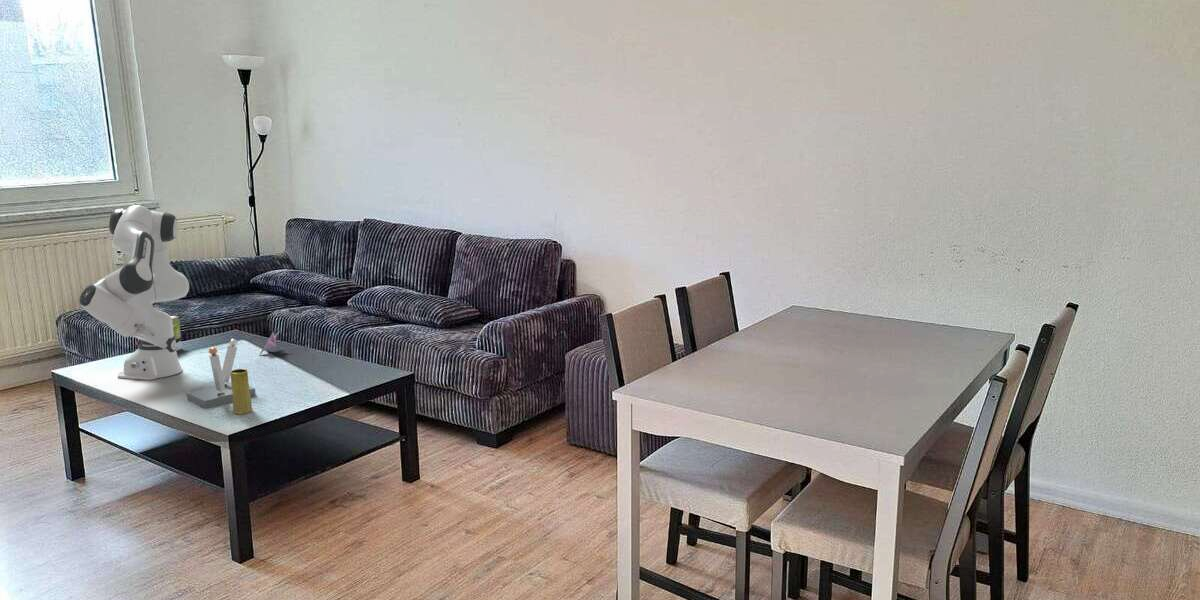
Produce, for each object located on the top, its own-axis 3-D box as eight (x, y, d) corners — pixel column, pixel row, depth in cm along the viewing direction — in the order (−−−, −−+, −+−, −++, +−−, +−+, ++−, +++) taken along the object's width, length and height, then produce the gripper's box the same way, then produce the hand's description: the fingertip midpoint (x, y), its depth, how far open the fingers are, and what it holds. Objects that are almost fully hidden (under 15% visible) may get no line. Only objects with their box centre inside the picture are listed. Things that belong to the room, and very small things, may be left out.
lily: (281, 350, 371) (268, 332, 368) (296, 343, 364) (283, 324, 362) (261, 365, 362) (248, 347, 359) (277, 358, 355) (263, 339, 352)
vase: (236, 408, 293) (232, 368, 290) (255, 408, 294) (251, 368, 291) (230, 414, 287) (226, 373, 284) (249, 414, 288) (245, 373, 285)
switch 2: (222, 382, 308) (233, 339, 309) (218, 380, 310) (228, 337, 311) (229, 382, 310) (240, 340, 311) (225, 380, 312) (235, 338, 313)
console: (205, 408, 295) (204, 399, 294) (187, 399, 304) (186, 391, 303) (255, 395, 308) (254, 387, 307) (236, 387, 317) (236, 379, 316)
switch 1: (219, 392, 298) (211, 349, 294) (214, 390, 301) (206, 347, 296) (226, 389, 300) (218, 347, 296) (222, 387, 302) (213, 345, 298)
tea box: (165, 358, 357) (161, 323, 354) (141, 358, 357) (137, 323, 354) (183, 348, 372) (179, 315, 369) (159, 348, 372) (155, 315, 369)
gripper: (149, 319, 269) (184, 343, 278) (123, 310, 282) (157, 333, 291) (136, 336, 267) (172, 359, 276) (110, 326, 280) (145, 349, 289)
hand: (164, 346), depth 284 cm, fingers closed
